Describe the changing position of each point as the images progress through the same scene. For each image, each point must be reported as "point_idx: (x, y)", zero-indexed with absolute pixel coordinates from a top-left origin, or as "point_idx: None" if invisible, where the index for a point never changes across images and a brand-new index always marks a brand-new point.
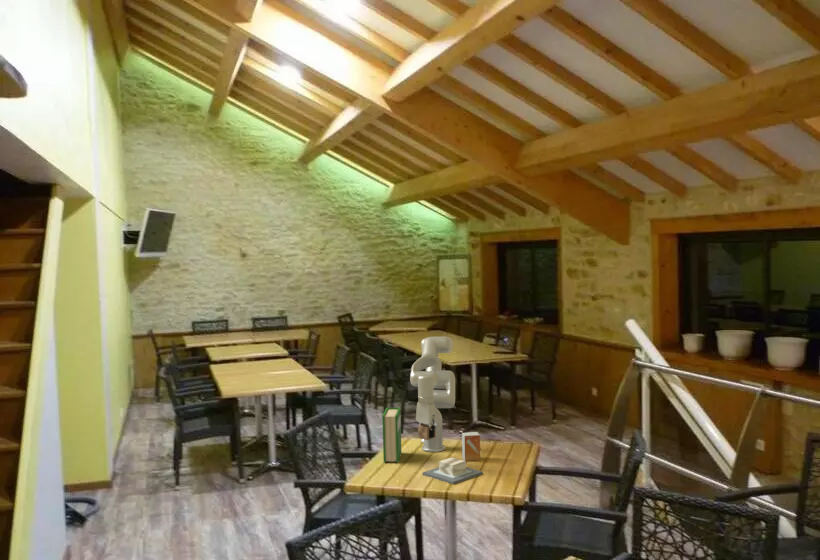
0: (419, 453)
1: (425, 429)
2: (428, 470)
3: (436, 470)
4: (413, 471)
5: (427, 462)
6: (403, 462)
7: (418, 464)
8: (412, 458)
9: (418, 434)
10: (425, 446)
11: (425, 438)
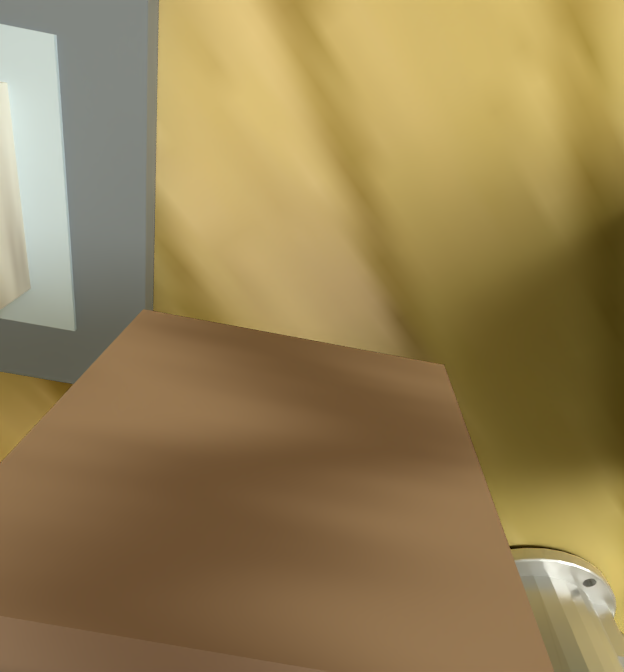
0: (577, 496)
1: (26, 531)
2: (146, 62)
3: (78, 120)
4: (340, 2)
5: (384, 348)
6: (615, 229)
7: (430, 257)
8: (577, 373)
9: (456, 414)
10: (578, 594)
11: (183, 335)
